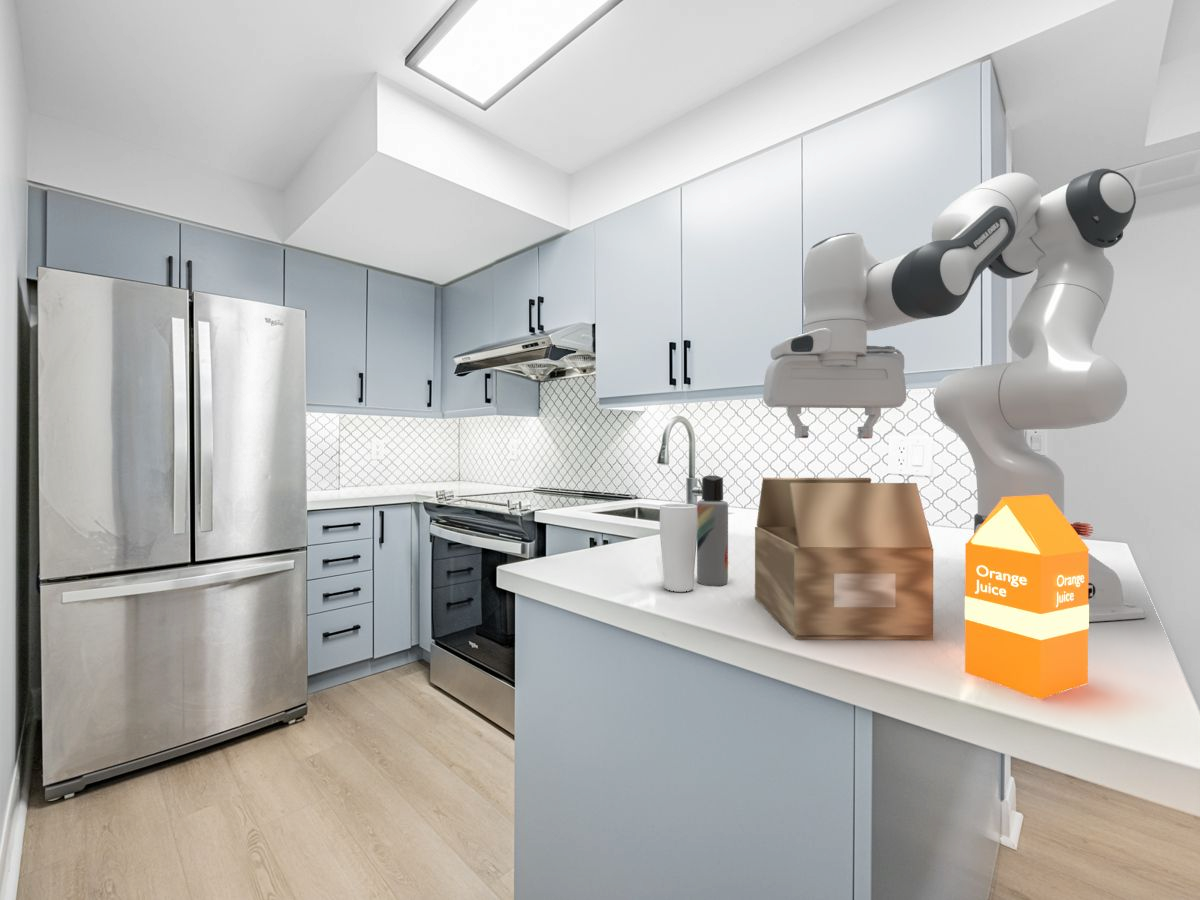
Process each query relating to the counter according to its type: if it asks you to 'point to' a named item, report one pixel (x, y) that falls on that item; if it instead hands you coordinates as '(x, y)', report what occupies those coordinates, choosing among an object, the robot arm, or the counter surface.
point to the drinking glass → (678, 545)
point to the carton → (844, 589)
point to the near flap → (859, 515)
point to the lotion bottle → (712, 533)
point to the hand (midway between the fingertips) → (833, 438)
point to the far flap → (786, 499)
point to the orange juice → (1027, 599)
